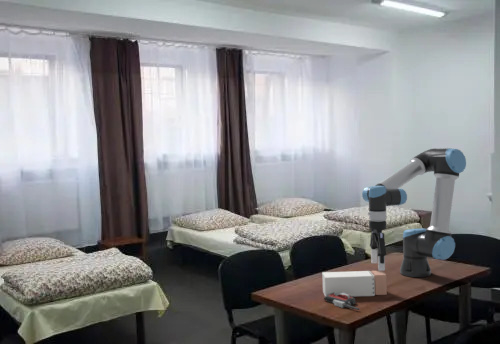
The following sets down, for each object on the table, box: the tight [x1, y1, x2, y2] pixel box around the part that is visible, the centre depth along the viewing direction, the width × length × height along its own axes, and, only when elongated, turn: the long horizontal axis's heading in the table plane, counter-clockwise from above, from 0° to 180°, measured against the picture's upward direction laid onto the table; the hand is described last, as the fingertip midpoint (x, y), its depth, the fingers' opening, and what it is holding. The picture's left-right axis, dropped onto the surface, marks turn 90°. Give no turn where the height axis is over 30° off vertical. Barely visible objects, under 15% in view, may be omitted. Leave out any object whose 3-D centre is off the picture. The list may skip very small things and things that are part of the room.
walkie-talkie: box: [323, 292, 360, 311], centre depth 220 cm, size 9×4×20 cm
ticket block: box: [321, 270, 376, 298], centre depth 235 cm, size 22×9×9 cm, turn 90°
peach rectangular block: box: [370, 269, 388, 296], centre depth 234 cm, size 5×8×9 cm, turn 0°
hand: (377, 266), depth 234 cm, fingers open, 13 cm apart
